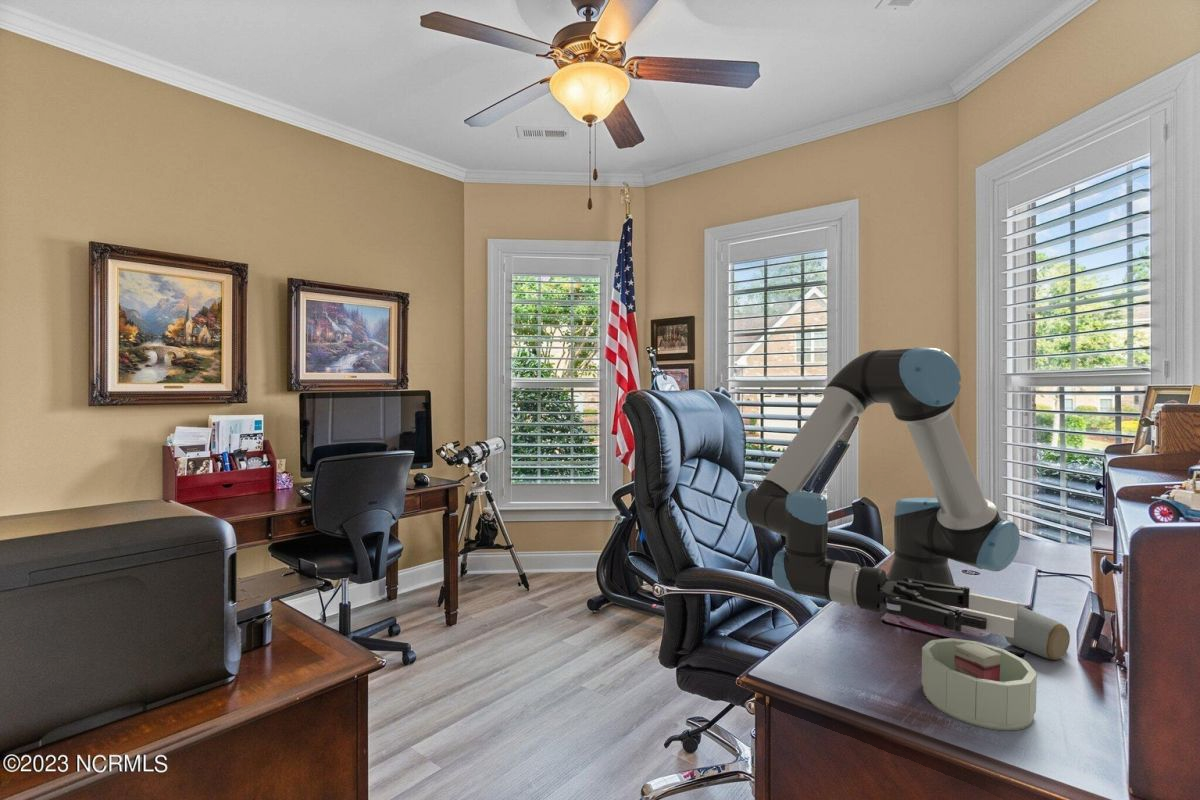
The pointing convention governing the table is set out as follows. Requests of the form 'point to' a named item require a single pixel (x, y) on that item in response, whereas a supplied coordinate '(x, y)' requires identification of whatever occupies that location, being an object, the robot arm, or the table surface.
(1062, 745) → the table surface
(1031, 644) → the ceramic mug
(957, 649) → the small box
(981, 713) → the sage bowl
